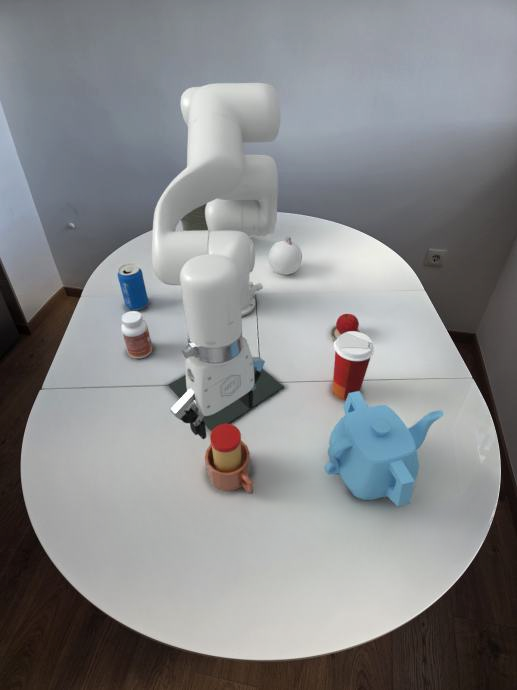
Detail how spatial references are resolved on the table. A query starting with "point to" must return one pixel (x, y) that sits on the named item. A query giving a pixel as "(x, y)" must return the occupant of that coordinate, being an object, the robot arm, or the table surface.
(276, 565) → the table surface
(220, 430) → the jar
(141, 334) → the pill bottle
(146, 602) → the table surface
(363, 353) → the coffee cup
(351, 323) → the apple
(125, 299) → the beverage can
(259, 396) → the mat
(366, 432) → the teapot
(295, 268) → the ornament
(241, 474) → the terracotta mug
